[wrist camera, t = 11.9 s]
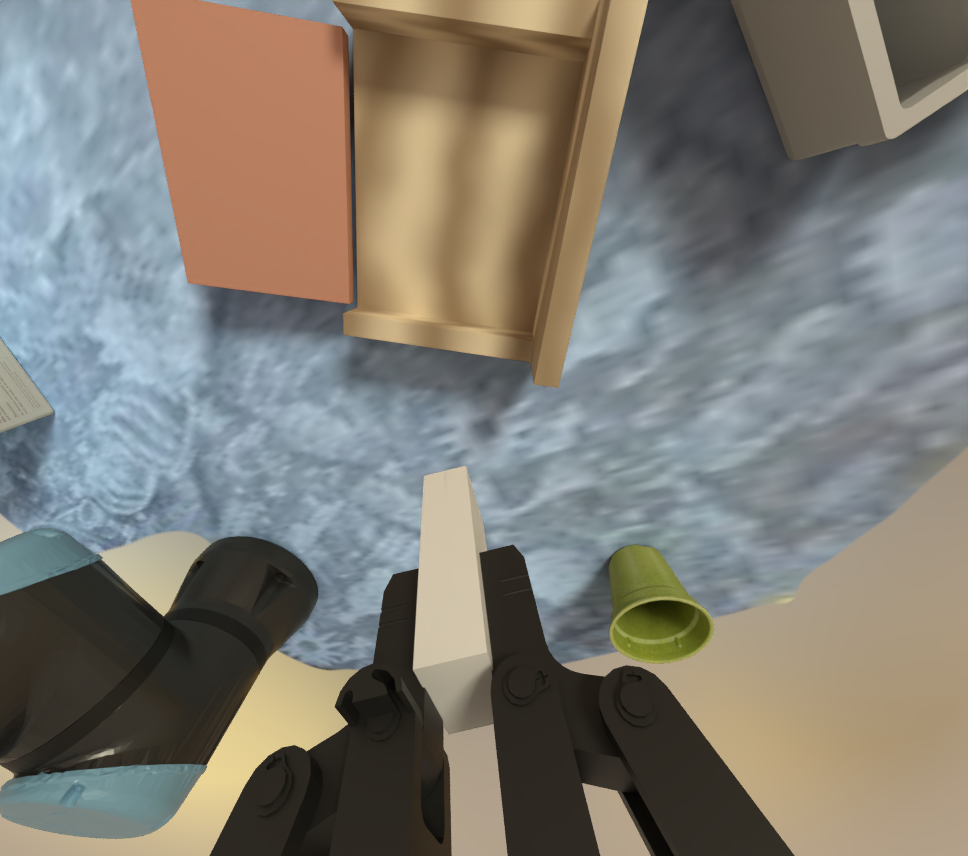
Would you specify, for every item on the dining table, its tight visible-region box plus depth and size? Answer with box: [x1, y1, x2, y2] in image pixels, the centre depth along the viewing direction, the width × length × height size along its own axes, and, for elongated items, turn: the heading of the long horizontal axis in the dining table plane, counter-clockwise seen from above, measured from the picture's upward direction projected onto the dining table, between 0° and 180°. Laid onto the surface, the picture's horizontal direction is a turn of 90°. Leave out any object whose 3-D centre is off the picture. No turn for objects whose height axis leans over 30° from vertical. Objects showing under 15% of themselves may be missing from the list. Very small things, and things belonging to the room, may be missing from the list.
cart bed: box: [333, 0, 648, 388], centre depth 25 cm, size 16×20×10 cm
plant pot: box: [609, 545, 714, 664], centre depth 40 cm, size 9×9×9 cm
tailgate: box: [131, 0, 354, 304], centre depth 27 cm, size 2×16×12 cm
